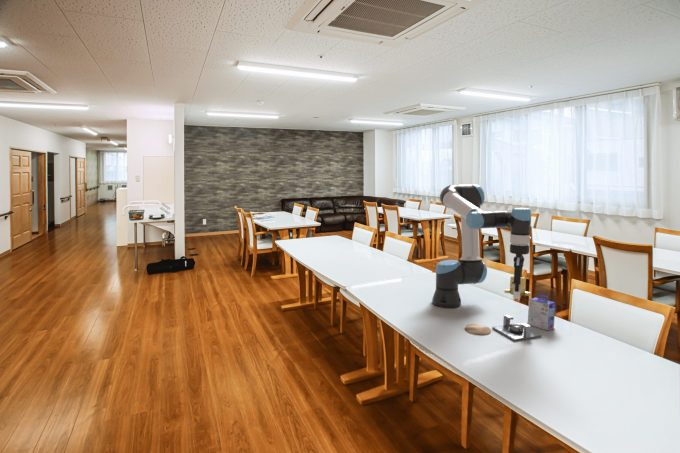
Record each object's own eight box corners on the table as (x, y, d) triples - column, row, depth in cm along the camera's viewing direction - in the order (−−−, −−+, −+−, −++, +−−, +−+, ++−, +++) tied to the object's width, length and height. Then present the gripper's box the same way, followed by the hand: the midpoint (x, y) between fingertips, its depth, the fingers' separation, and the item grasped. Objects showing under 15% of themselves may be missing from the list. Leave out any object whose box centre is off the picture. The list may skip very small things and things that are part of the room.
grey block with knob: (492, 328, 174) (492, 316, 173) (518, 325, 178) (518, 313, 177) (514, 341, 160) (514, 328, 160) (541, 337, 164) (542, 324, 163)
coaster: (460, 326, 177) (460, 325, 177) (480, 324, 180) (480, 322, 180) (474, 336, 166) (474, 334, 166) (496, 333, 169) (496, 331, 169)
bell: (504, 293, 167) (504, 278, 166) (505, 290, 172) (506, 275, 171) (529, 297, 162) (530, 281, 161) (530, 293, 167) (531, 277, 166)
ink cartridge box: (554, 328, 174) (556, 297, 172) (547, 331, 171) (549, 299, 169) (533, 321, 182) (535, 292, 180) (527, 324, 179) (528, 294, 177)
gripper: (528, 248, 154) (525, 304, 157) (530, 241, 170) (527, 291, 173) (508, 247, 157) (505, 301, 161) (512, 240, 174) (509, 289, 177)
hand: (517, 296), depth 167 cm, fingers closed on bell, 6 cm apart
